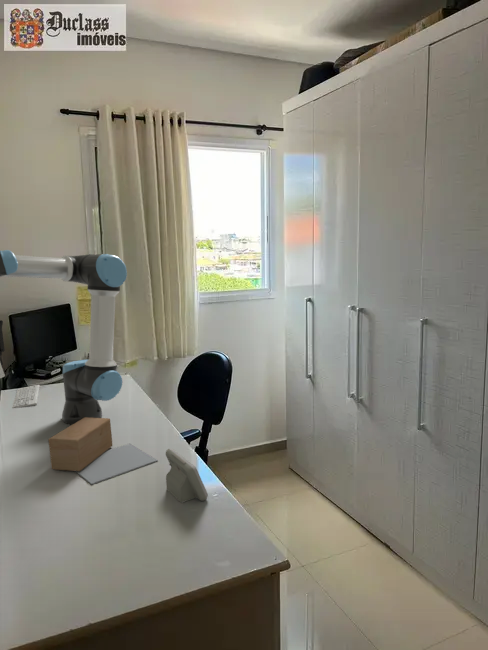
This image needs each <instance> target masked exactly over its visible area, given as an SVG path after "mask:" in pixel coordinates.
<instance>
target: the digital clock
mask: <svg viewBox="0 0 488 650" xmlns="http://www.w3.org/2000/svg"><path fill="white" fill-rule="evenodd" d="M165 457H166V458H167V460H168V464H169V466H170V469H169V471H168V473H166V474H165V475H166V476H165V480H166V481H165V483H166V485H165V486H166V490H167V491H168V492H169V493H170V494H171V495H172V496H174V498H175V499H176V500H177V501H178V502H179V503H185V502H187V501H191V500H193V499H198V500H200V501H201V502H202V501H207V500H208V497H209V496H208V492H207V488H206V487H205V485H204V483H203V480H202V478H201V476H200V473H199V471H198V468H197V467H196V466H195V465H194V464H193V463H191V461H189V460H188V459H186V458H185V456H183V455H182V454H180V453H179V452H178V451H176V450H175V449H173V448H168V449H166V451H165Z"/></svg>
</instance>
